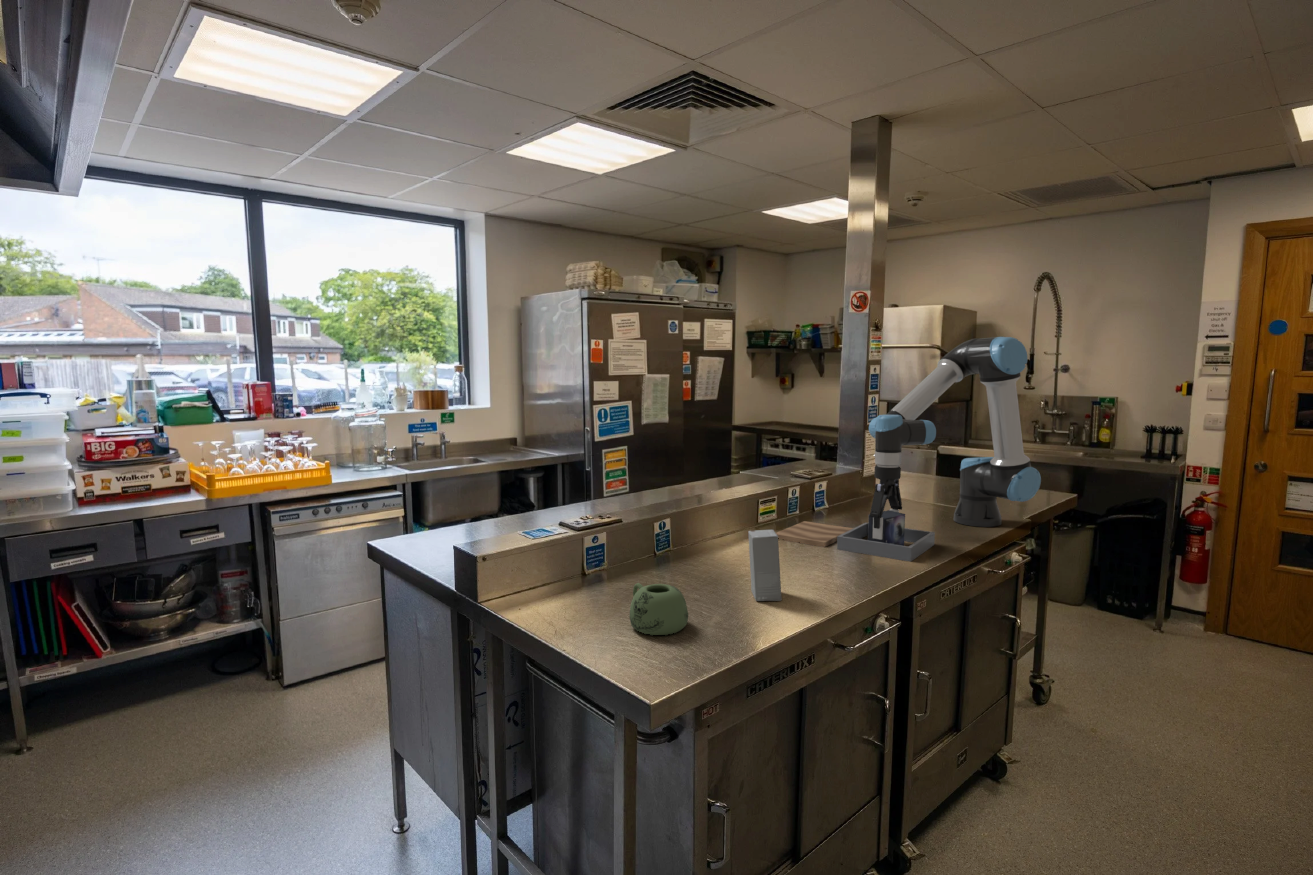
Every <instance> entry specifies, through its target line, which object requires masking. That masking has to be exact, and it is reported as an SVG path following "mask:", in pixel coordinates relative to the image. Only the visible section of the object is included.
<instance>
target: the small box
mask: <svg viewBox="0 0 1313 875" xmlns="http://www.w3.org/2000/svg"><path fill="white" fill-rule="evenodd" d="M882 518H883V536H882V540H881V539H875V538H873V517H870V513H869V514H868V522H867V523H868V536H867V540H870V541H876V542H882V543H889V544H895V545H902V546H905V541H904V534H905V528H906V513H902V512H900V511H899V512H894V511H890V510H889V509H888V510H884V511H883V514H882Z"/></svg>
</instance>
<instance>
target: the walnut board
mask: <svg viewBox="0 0 1313 875" xmlns="http://www.w3.org/2000/svg"><path fill="white" fill-rule="evenodd" d="M853 528H854V527H847V526H846V527H845V526H840V525H832V524H827V523H819V522H813V521H806V520H804V521H801V522H799V523H797V524H794V525H792V526H789V527H787V528H783V530H779V531H777V532H775V533H776V534H777V536H778V538H779V539H778V540H780V539H784V540H783V541H787V542H792V541H793V542H792V543H798V542H800V543H799V544H804V543H805V544H804V545H810V546H815V545H816V547H821V546H822V547H823V548H826V547H828V546H830V545H832V544H834V543H835V542H836V543H837V536H839V535H841V534H843V533H845V532H847V531H849V530H851V529H853ZM822 547H821V548H822Z"/></svg>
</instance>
